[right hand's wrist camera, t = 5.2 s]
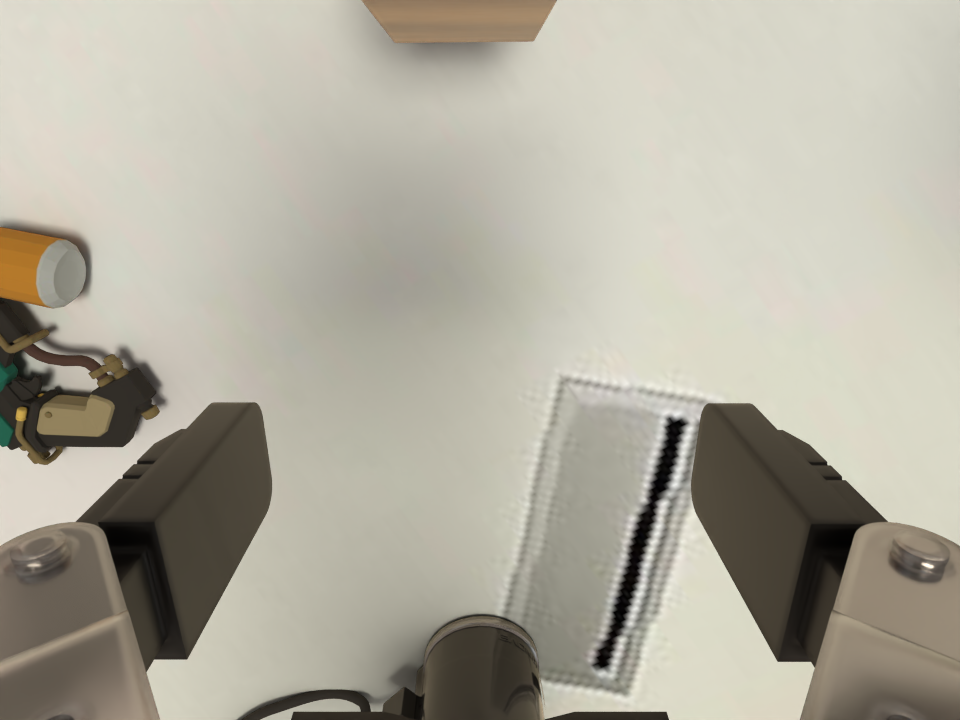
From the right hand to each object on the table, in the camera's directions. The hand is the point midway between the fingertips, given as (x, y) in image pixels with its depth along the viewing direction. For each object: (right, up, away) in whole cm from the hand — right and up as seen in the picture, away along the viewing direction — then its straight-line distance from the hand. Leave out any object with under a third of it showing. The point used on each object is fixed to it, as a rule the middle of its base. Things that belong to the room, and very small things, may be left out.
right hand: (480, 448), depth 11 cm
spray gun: (-30, +3, +30) cm, 42 cm away
